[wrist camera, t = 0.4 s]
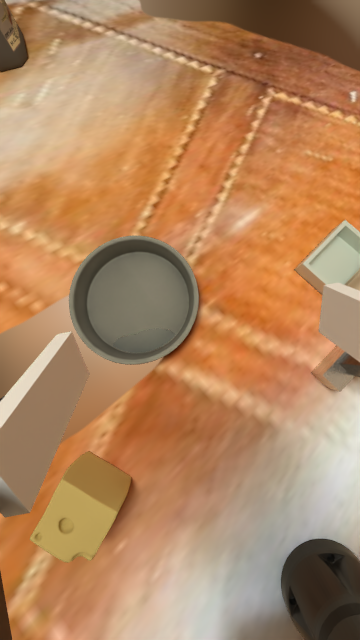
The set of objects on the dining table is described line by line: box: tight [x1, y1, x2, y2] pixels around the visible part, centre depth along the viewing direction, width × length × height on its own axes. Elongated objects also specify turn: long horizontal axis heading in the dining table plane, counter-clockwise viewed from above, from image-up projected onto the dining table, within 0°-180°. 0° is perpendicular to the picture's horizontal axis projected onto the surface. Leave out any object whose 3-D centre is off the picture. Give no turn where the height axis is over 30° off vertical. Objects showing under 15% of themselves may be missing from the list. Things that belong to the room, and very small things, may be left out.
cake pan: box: [69, 236, 199, 365], centre depth 45 cm, size 25×25×4 cm
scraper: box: [311, 345, 360, 392], centre depth 39 cm, size 4×10×12 cm, turn 135°
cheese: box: [30, 451, 131, 563], centre depth 39 cm, size 10×11×10 cm
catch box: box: [294, 220, 360, 295], centre depth 45 cm, size 12×12×4 cm
